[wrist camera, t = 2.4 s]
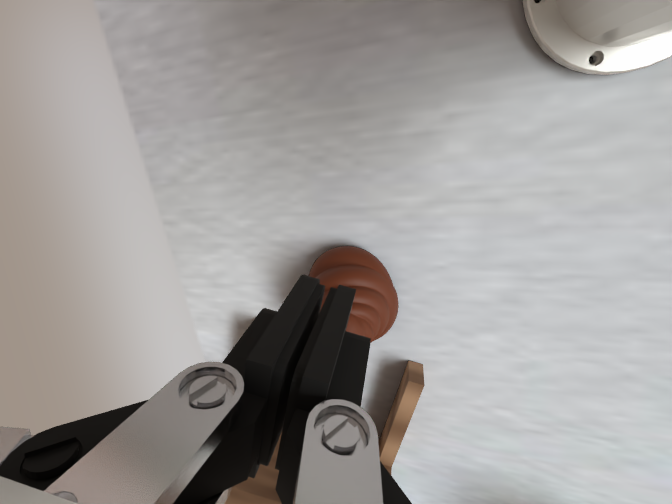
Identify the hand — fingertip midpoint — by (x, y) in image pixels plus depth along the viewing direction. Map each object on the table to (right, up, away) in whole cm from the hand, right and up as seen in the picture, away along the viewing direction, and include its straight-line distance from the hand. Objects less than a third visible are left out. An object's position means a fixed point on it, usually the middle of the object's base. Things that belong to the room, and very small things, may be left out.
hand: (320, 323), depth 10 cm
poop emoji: (+2, -2, +24) cm, 24 cm away
